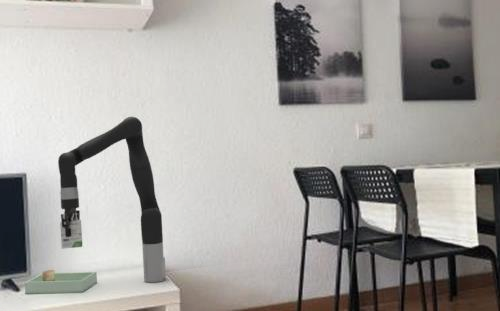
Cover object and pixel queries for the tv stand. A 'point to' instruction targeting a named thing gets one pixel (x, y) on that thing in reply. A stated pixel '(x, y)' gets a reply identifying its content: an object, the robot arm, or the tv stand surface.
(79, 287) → the tote
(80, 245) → the ink box
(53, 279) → the beech cylinder
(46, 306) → the tv stand surface
